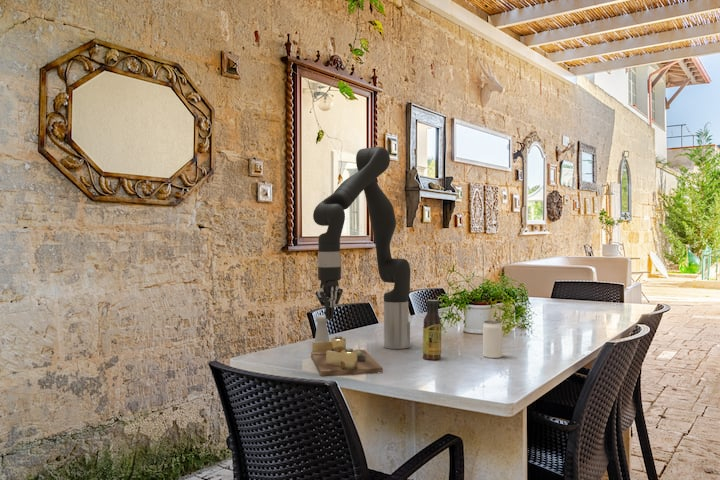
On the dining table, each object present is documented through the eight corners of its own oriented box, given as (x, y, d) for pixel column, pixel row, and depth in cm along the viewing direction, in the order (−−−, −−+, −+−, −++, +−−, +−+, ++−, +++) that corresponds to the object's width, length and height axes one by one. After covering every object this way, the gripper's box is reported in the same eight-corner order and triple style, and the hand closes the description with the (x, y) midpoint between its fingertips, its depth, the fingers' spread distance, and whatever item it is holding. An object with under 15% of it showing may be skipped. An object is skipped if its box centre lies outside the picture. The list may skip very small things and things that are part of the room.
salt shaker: (327, 352, 212) (327, 316, 212) (312, 352, 213) (311, 316, 213) (331, 349, 218) (331, 314, 218) (316, 349, 219) (316, 314, 219)
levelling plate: (364, 353, 209) (364, 340, 209) (382, 372, 181) (382, 357, 181) (311, 356, 206) (310, 343, 206) (320, 376, 177) (320, 360, 177)
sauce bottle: (429, 361, 196) (428, 301, 196) (419, 357, 202) (418, 299, 201) (445, 359, 199) (445, 300, 199) (435, 355, 205) (434, 298, 204)
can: (503, 355, 204) (503, 320, 204) (501, 359, 198) (501, 323, 198) (484, 354, 206) (484, 320, 206) (482, 358, 200) (481, 322, 200)
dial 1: (345, 351, 205) (345, 335, 205) (346, 354, 200) (346, 338, 200) (312, 352, 204) (312, 336, 204) (312, 355, 199) (312, 339, 199)
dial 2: (360, 367, 181) (360, 349, 181) (350, 370, 177) (350, 351, 177) (332, 362, 189) (332, 344, 188) (322, 365, 185) (322, 347, 185)
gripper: (327, 266, 184) (327, 322, 184) (349, 264, 195) (350, 317, 195) (307, 266, 188) (308, 320, 188) (331, 264, 199) (331, 315, 199)
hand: (329, 318), depth 191 cm, fingers closed
